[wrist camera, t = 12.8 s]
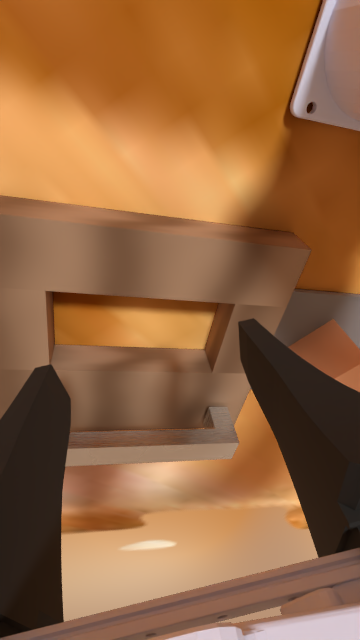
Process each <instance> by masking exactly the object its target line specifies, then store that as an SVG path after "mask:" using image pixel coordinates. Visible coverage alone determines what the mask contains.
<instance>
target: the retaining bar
mask: <svg viewBox="0 0 360 640" xmlns="http://www.w3.org/2000/svg"><path fill="white" fill-rule="evenodd" d="M203 424H204V428H205V429H188V430H147V431H107V432H70V435H69V442H68V450H67V457H66V464H65V467H67V466H88V465H109V464H130V463H152V462H173V461H194V460H215V459H232V457H233V455H234V453H235V451H236V449H237V447H238V444H239V440H238V437H237V434H236V431H235V428H234V425H233V422H232V419H231V416H230V414H229V411H228V408H227V407H209V408H208V411H207V414H206V416H205V419H204V422H203Z"/></svg>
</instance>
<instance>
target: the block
mask: <svg viewBox="0 0 360 640" xmlns="http://www.w3.org/2000/svg"><path fill="white" fill-rule="evenodd" d="M288 348H290V349H291V350H292V351H293V352H295V353H296V354H297V355H299V356H300V357H301V358H303V359H304V360H306V361H307V362H309V363H310V364H311V365H313V366H314V367H316V368H317V369H319V370H321V371H322V372H324V373H325V374H327V375H329V376H330V377H332V378H334V379H335V380H337V381H339V382H341V383H342V384H344V385H346V386H348V387H350V388H352V389H354V390H356V391H358V392H360V349H359V348H358V347H357V346H356V344H355V343H354V342H353V341H352V340H351V339H350V338H349V336H348V335H347V334H346V333H345V332H344V331H343V329H342V328H341V327H340V326H339V325H338V324H337V322H336V321H335V320H334V319H332V320H331V321H329V322H327V323H326V324H324V325H323V326H321V327H319V328H318V329H316V330H315V331H313V332H311V333H310V334H308V335H307V336H305V337H303V338H302V339H300V340H298V341H297V342H295V343H294V344H292V345H290V346H289V347H288Z"/></svg>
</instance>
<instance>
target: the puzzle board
mask: <svg viewBox="0 0 360 640" xmlns="http://www.w3.org/2000/svg"><path fill="white" fill-rule="evenodd" d="M310 253H311V249H310V248H309V247H308V246H307V245H306V244H305V243H304V242H303V241H301V240H300V239H299V238H298V237H297V236H296V235H295V234H294V233H291V232H283V231H275V230H268V229H260V228H252V227H244V226H236V225H228V224H220V223H213V222H205V221H197V220H189V219H181V218H173V217H165V216H158V215H150V214H142V213H134V212H126V211H118V210H110V209H103V208H95V207H87V206H79V205H71V204H63V203H56V202H48V201H40V200H32V199H24V198H16V197H8V196H1V195H0V419H1V418H2V416H3V415H4V414H5V412H6V411H7V409H8V408H9V406H10V405H11V403H12V402H13V400H14V399H15V397H16V396H17V394H18V393H19V391H20V390H21V388H22V387H23V385H24V384H25V382H26V381H27V379H28V378H29V376H30V375H31V373H32V372H33V370H34V369H35V368H36V367H41V366H45V365H50V364H52V366H53V368H54V370H55V371H56V373H57V375H58V377H59V379H60V380H61V382H62V384H63V386H64V387H65V389H66V391H67V393H68V395H69V396H70V398H71V427H70V432H73V431H114V430H156V429H198V428H204V424H203V422H204V419H205V416H206V414H207V411H208V408H209V407H227V408H228V411H229V414H230V416H231V419H232V422H233V425H234V424H235V422H236V420H237V418H238V415H239V413H240V411H241V409H242V406H243V404H244V402H245V400H246V397H247V395H248V393H249V391H250V388H251V386H250V384H249V382H248V380H247V377H246V374H245V371H244V369H243V366H242V363H241V360H240V345H239V329H238V322H239V321H244V320H248V319H253V318H254V319H255V320H257V321H258V322H259V323H260V324H261V325H262V326H263V327H265V328H266V329H267V330H268V331H269V332H270V333H271V334H272V335H274V334H275V332H276V330H277V327H278V325H279V323H280V320H281V318H282V316H283V314H284V311H285V309H286V307H287V305H288V302H289V300H290V298H291V296H292V293H293V291H294V289H295V287H296V284H297V282H298V280H299V278H300V275H301V273H302V271H303V269H304V266H305V264H306V262H307V259H308V257H309V255H310ZM53 291H55V292H69V293H84V294H98V295H113V296H127V297H142V298H157V299H171V300H186V301H200V302H215V303H219V304H218V307H217V311H216V314H215V317H214V320H213V324H212V327H211V330H210V334H209V337H208V340H207V344H206V347H205V350H200V349H170V348H140V347H110V346H80V345H55V338H54V312H53Z"/></svg>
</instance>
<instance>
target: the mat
mask: <svg viewBox="0 0 360 640" xmlns="http://www.w3.org/2000/svg"><path fill="white" fill-rule="evenodd" d="M332 319H334V320H335V321H336V322H337V324H338V325H339V326H340V327H341V328H342V329H343V331H344V332H345V333H346V334H347V335H348V336H349V338H350V339H351V340H352V341H353V342H354V343H355V344H356V346H357V347H358V348H359V349H360V294H350V293H338V292H326V291H314V290H302V289H294V291H293V293H292V296H291V298H290V300H289V302H288V305H287V307H286V309H285V311H284V314H283V316H282V318H281V320H280V323H279V325H278V327H277V330H276V332H275V334H274V336H275V337H276V338H277V339H278V340H280V341H281V342H282V343H283V344H285V345H286V346H287V347H289V346H290V345H292V344H294V343H295V342H297V341H298V340H300V339H302V338H303V337H305V336H307V335H308V334H310V333H311V332H313V331H315V330H316V329H318V328H319V327H321V326H323V325H324V324H326V323H327V322H329V321H331V320H332ZM250 389H252V388H250Z"/></svg>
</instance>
